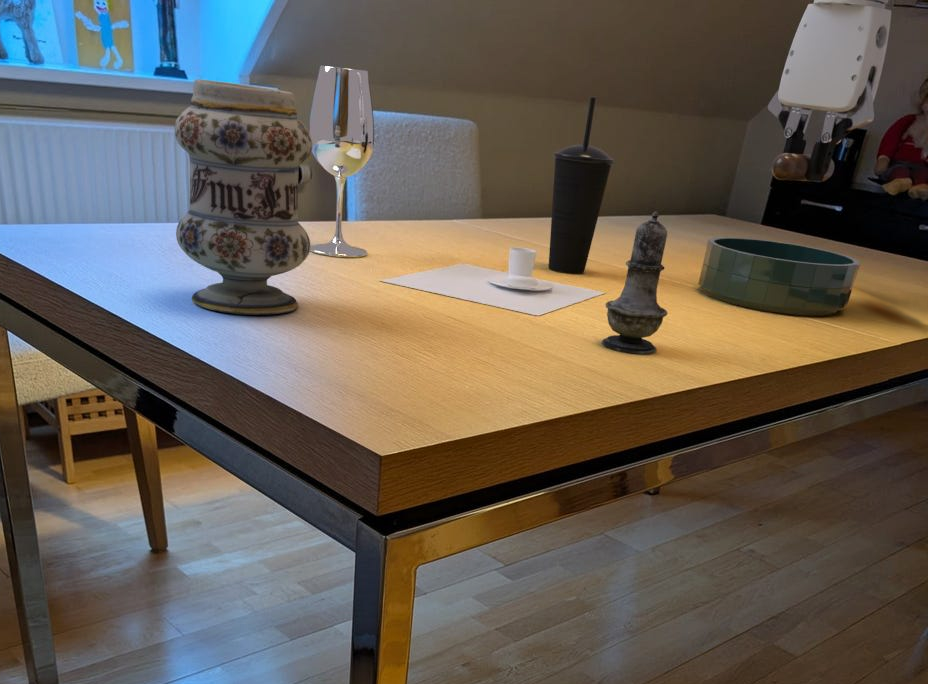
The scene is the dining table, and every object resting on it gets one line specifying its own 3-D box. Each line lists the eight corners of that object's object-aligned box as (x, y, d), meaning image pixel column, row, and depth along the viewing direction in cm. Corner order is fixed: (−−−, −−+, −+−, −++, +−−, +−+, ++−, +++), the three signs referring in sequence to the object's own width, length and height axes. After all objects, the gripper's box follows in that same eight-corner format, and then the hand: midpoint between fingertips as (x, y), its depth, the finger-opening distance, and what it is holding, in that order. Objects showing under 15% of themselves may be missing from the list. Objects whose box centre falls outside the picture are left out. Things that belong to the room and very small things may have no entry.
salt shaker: (586, 342, 87) (610, 205, 81) (620, 335, 91) (645, 204, 85) (638, 357, 84) (667, 216, 78) (670, 350, 88) (701, 215, 82)
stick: (813, 180, 114) (820, 155, 112) (834, 183, 112) (841, 157, 110) (764, 178, 106) (770, 151, 105) (785, 180, 105) (792, 153, 103)
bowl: (815, 293, 126) (829, 247, 123) (866, 324, 110) (884, 271, 107) (683, 279, 125) (694, 232, 122) (716, 307, 109) (729, 254, 106)
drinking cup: (535, 271, 119) (560, 93, 108) (540, 262, 125) (563, 94, 115) (593, 278, 118) (624, 101, 108) (595, 269, 124) (624, 100, 114)
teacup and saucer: (532, 298, 103) (538, 259, 101) (471, 285, 106) (475, 247, 104) (563, 289, 110) (568, 252, 107) (504, 276, 112) (508, 241, 110)
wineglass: (376, 252, 119) (385, 73, 108) (357, 260, 112) (366, 70, 102) (319, 243, 120) (323, 65, 109) (297, 251, 113) (300, 63, 103)
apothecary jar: (334, 313, 87) (342, 95, 78) (227, 324, 80) (220, 84, 70) (261, 286, 94) (259, 83, 85) (155, 294, 86) (141, 72, 77)
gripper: (939, -1, 97) (878, 189, 106) (802, -6, 106) (758, 169, 116) (909, -12, 92) (848, 188, 102) (769, -15, 102) (726, 168, 112)
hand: (801, 177), depth 109 cm, fingers closed on stick, 2 cm apart
